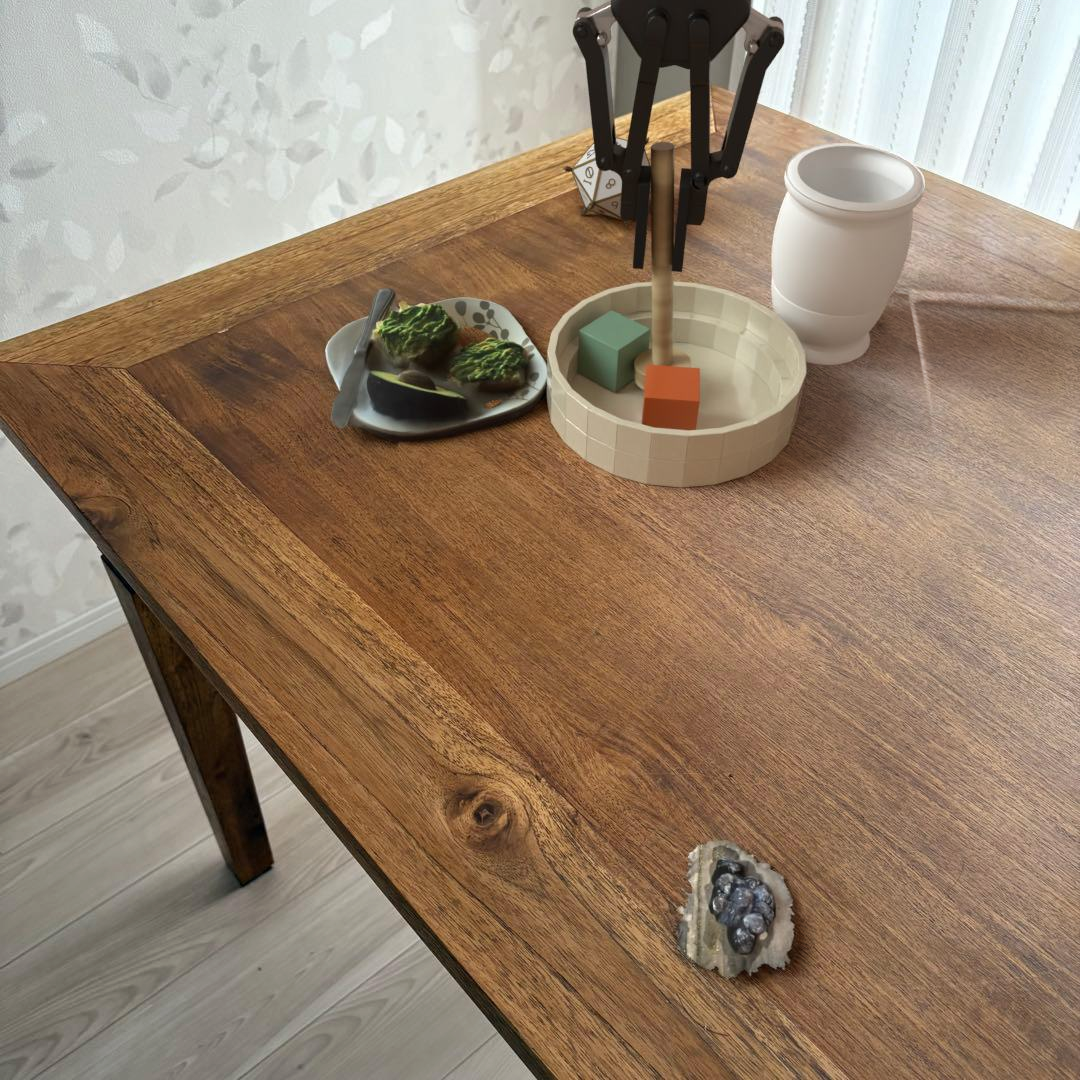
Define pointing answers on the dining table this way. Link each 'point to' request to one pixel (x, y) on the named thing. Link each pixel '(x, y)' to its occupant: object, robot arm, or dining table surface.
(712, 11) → the robot arm
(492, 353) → the salad plate
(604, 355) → the sage block
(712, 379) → the bowl
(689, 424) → the rust block
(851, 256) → the jar
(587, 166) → the game die
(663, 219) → the stand
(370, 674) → the dining table surface
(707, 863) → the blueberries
